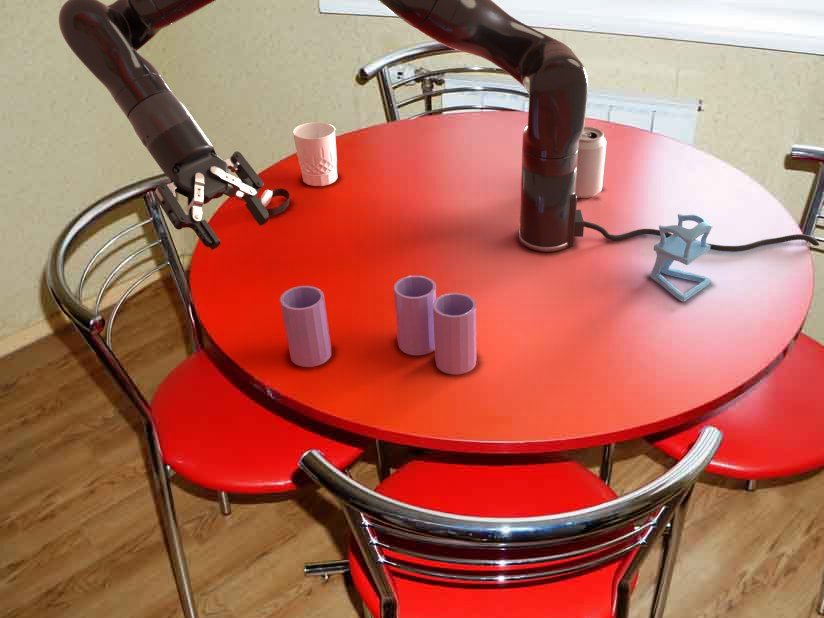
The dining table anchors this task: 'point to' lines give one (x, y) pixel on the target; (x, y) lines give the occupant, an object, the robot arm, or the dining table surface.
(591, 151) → the can
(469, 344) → the cup
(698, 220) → the chair
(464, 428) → the dining table surface
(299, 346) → the end cup
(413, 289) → the middle cup
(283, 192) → the watch
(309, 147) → the white cup
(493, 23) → the robot arm
